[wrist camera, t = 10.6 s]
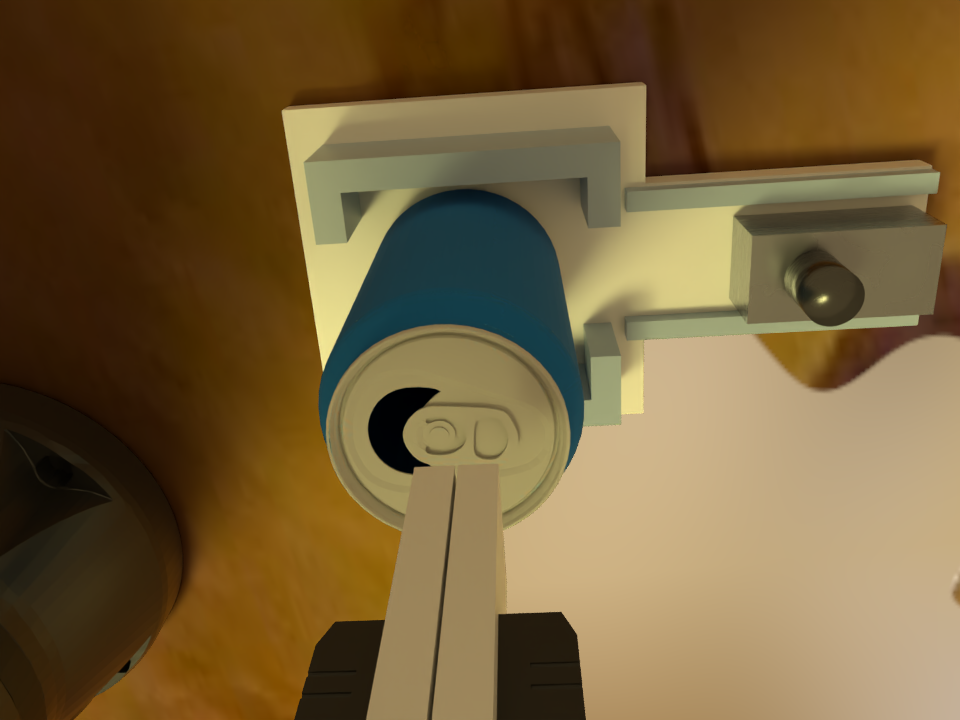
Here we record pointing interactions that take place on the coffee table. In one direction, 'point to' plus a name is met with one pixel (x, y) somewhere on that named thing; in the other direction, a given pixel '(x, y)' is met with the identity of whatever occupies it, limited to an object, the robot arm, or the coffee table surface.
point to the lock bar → (835, 264)
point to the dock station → (563, 212)
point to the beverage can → (455, 358)
